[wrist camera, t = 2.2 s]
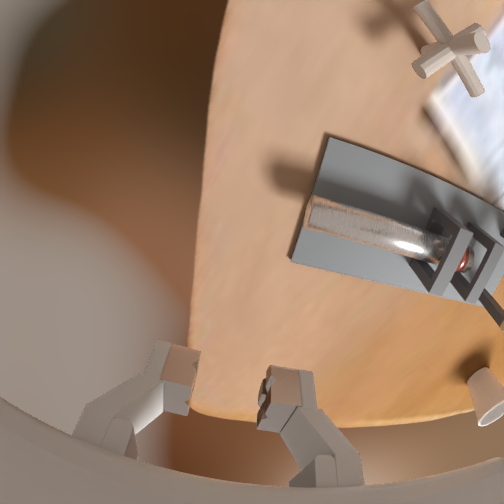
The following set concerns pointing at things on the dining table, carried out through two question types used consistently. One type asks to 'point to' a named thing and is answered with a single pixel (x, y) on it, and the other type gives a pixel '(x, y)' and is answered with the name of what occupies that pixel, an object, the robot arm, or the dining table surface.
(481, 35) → the pipe connector
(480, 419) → the dixie cup
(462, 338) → the dining table surface
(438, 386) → the dining table surface
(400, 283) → the collar board
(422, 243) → the tube
